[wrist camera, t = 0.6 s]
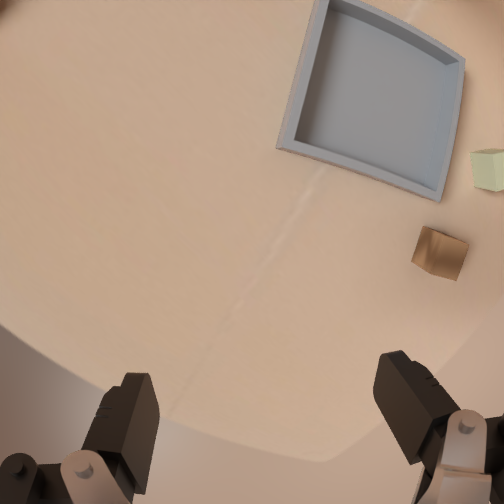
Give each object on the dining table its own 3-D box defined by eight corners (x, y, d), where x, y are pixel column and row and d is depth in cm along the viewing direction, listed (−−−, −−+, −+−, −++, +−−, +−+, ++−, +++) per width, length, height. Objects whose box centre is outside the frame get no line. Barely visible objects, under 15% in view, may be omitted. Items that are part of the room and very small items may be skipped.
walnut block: (422, 225, 37) (444, 235, 33) (447, 235, 38) (469, 244, 33) (410, 261, 39) (430, 274, 34) (436, 268, 39) (456, 280, 35)
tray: (314, 1, 28) (323, -14, 24) (448, 64, 31) (465, 58, 27) (275, 148, 33) (281, 147, 30) (422, 197, 36) (439, 202, 32)
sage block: (469, 152, 35) (492, 154, 30) (490, 148, 35) (512, 150, 30) (473, 186, 36) (496, 191, 32) (494, 180, 36) (516, 185, 31)
